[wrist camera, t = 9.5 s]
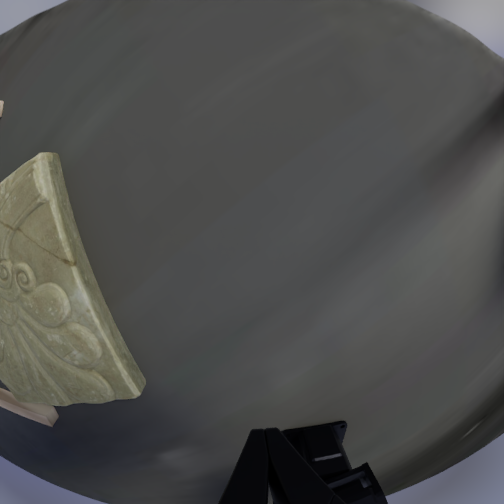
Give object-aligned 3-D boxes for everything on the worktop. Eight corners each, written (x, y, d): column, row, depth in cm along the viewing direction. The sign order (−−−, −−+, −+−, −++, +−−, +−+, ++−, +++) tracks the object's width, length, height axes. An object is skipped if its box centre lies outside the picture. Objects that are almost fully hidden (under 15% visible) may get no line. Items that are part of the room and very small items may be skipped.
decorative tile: (63, 150, 16) (37, 145, 13) (151, 379, 21) (141, 405, 17) (-41, 231, 16) (-61, 237, 13) (28, 391, 21) (14, 408, 17)
